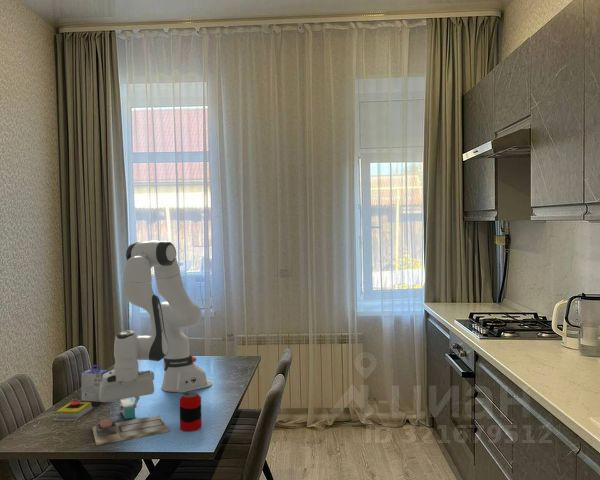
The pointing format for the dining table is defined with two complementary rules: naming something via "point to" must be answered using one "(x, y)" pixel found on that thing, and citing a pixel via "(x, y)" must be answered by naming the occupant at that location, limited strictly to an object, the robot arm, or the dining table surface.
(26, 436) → the dining table surface
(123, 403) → the marker
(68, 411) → the emergency button
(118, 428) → the board
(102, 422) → the button
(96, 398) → the ink cartridge box
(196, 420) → the soda can
